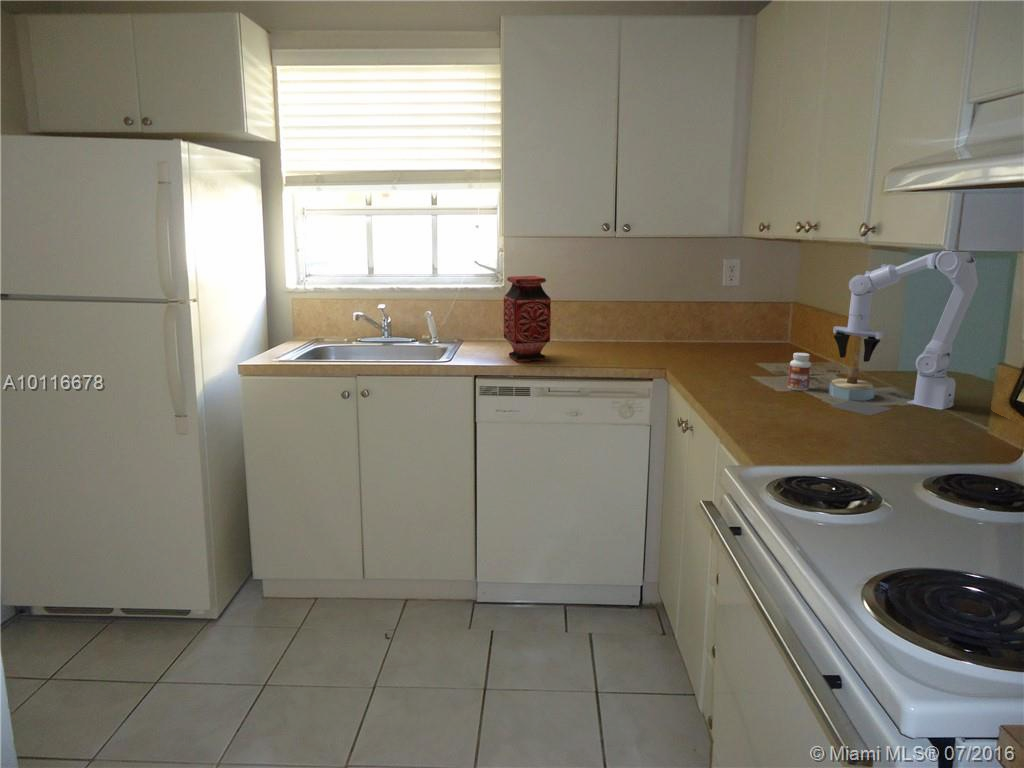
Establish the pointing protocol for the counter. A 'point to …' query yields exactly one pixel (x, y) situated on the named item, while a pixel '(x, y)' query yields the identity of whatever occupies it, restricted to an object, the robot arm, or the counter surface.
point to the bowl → (851, 393)
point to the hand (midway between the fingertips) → (854, 359)
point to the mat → (860, 407)
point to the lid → (852, 381)
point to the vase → (527, 318)
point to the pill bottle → (799, 372)
